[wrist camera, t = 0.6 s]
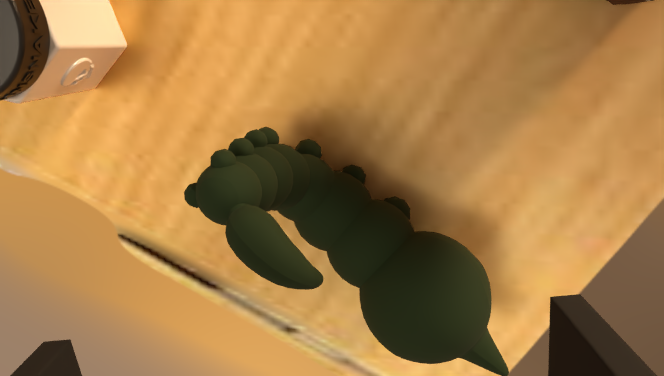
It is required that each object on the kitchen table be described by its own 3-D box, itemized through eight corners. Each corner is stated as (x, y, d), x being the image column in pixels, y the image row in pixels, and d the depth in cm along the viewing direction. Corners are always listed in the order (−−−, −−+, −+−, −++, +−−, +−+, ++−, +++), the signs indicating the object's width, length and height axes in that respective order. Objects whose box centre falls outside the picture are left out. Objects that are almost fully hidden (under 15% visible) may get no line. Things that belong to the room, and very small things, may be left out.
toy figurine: (232, 175, 41) (445, 351, 43) (116, 258, 23) (497, 557, 25) (300, 90, 39) (521, 281, 41) (233, 107, 20) (640, 450, 23)
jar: (81, 111, 38) (-31, 141, 26) (-6, 39, 36) (-166, 37, 25) (148, 25, 36) (58, 17, 24) (58, -56, 34) (-84, -105, 23)
